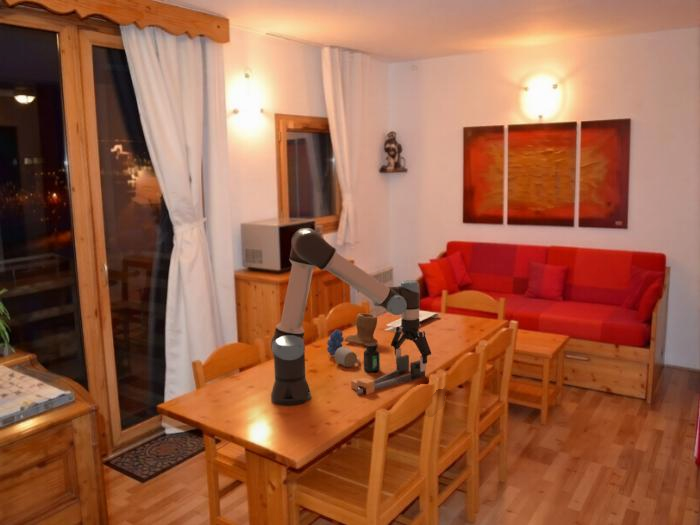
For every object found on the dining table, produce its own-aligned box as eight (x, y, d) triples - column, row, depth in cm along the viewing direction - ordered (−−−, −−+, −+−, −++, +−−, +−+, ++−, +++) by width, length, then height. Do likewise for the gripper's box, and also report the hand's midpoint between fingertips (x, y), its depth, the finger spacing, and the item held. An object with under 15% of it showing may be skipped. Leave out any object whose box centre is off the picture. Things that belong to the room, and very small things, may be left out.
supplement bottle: (378, 374, 254) (378, 347, 252) (362, 373, 256) (362, 346, 254) (380, 368, 261) (380, 342, 259) (365, 368, 262) (364, 341, 260)
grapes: (335, 350, 289) (335, 325, 287) (347, 352, 285) (346, 327, 283) (320, 356, 279) (320, 331, 277) (332, 359, 275) (331, 333, 273)
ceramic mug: (345, 369, 261) (345, 352, 260) (334, 364, 267) (333, 348, 266) (364, 364, 268) (364, 348, 266) (352, 360, 274) (352, 343, 273)
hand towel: (383, 324, 320) (419, 309, 352) (383, 331, 320) (419, 315, 352) (404, 327, 313) (438, 311, 345) (404, 334, 313) (438, 318, 345)
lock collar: (367, 394, 231) (366, 383, 230) (350, 388, 238) (350, 377, 237) (374, 391, 234) (374, 380, 233) (357, 385, 240) (357, 375, 240)
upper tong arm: (360, 396, 230) (360, 378, 229) (354, 394, 232) (354, 377, 231) (412, 371, 256) (412, 356, 255) (406, 370, 258) (406, 354, 257)
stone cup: (382, 342, 300) (381, 312, 298) (370, 348, 290) (370, 318, 288) (356, 338, 308) (355, 309, 305) (343, 344, 298) (343, 314, 295)
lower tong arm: (368, 394, 232) (367, 376, 231) (365, 393, 233) (365, 375, 232) (425, 376, 250) (425, 360, 249) (422, 375, 252) (422, 359, 250)
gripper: (439, 321, 242) (439, 371, 245) (394, 311, 260) (394, 358, 263) (428, 324, 237) (428, 376, 240) (382, 314, 255) (382, 362, 258)
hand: (410, 367), depth 252 cm, fingers open, 13 cm apart
